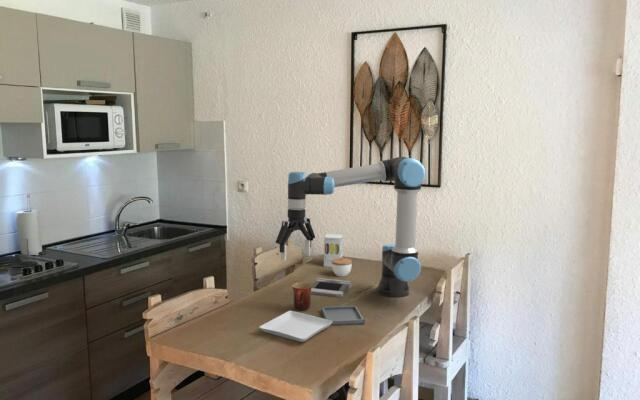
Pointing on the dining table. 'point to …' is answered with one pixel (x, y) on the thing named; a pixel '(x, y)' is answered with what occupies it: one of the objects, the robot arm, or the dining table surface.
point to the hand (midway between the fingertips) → (295, 257)
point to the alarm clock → (330, 287)
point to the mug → (302, 296)
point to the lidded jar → (341, 266)
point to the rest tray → (343, 315)
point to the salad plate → (295, 326)
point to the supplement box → (332, 248)
